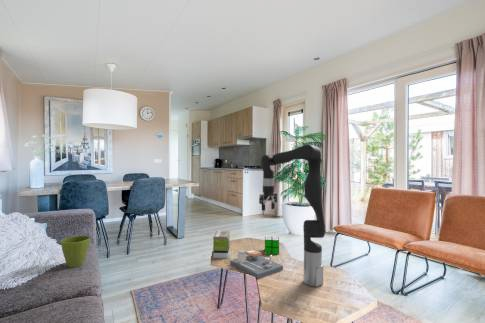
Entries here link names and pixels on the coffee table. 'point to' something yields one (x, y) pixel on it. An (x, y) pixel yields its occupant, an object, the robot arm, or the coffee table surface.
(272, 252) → the puzzle cube
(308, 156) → the robot arm
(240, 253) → the slider knob
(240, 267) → the control board
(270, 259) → the toggle lever
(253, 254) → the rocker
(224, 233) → the tea box
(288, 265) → the coffee table surface
